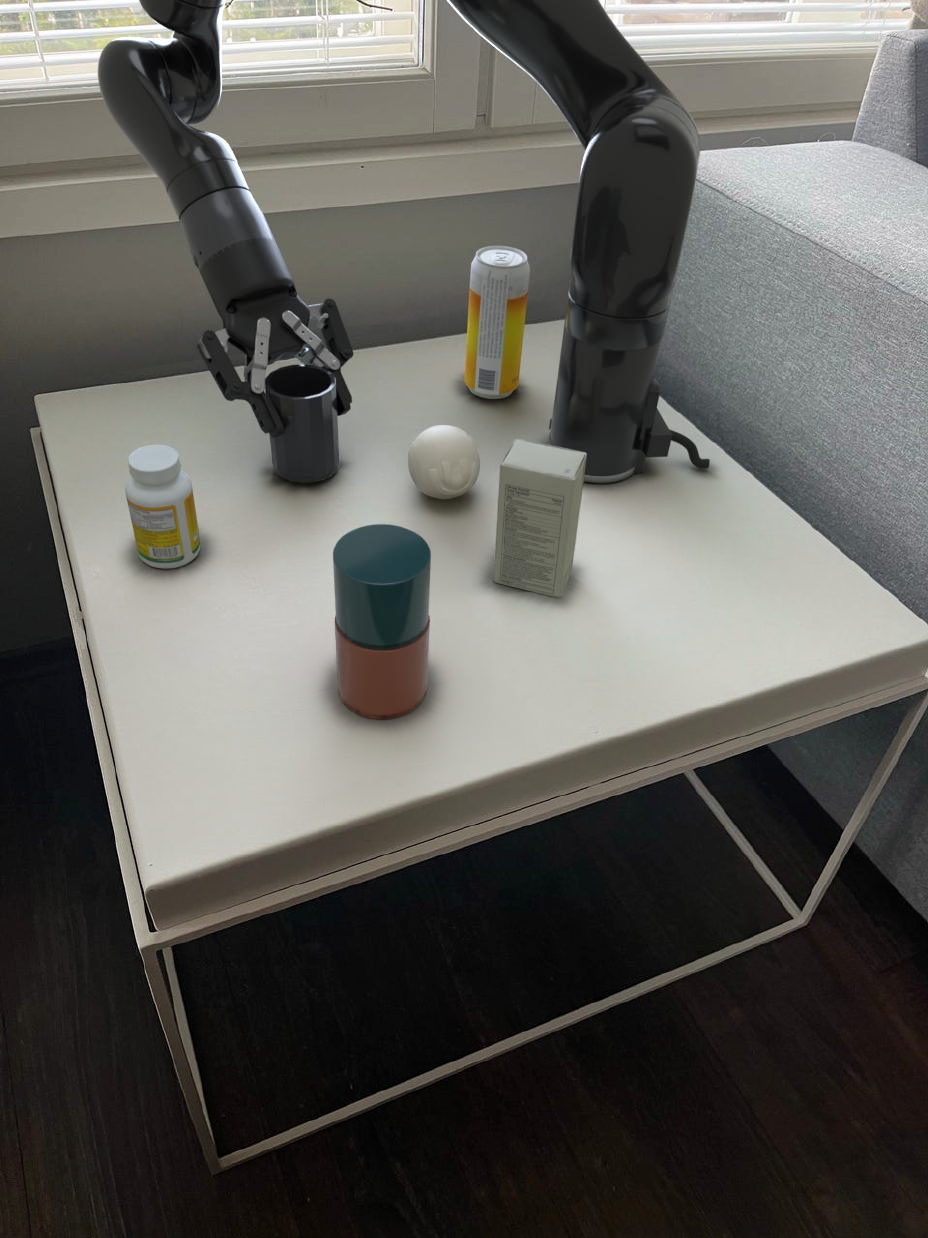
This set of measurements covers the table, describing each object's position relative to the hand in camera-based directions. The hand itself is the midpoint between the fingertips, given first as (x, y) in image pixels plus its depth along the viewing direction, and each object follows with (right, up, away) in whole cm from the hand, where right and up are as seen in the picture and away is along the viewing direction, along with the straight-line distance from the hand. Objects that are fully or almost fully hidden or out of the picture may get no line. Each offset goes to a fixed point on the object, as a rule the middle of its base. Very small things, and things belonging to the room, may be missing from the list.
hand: (312, 422), depth 90 cm
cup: (-1, -3, +5) cm, 6 cm away
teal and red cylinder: (+8, -23, -16) cm, 30 cm away
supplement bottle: (-12, -13, -5) cm, 18 cm away
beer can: (+17, +8, +19) cm, 27 cm away
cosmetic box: (+20, -15, -5) cm, 25 cm away
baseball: (+12, -6, +3) cm, 14 cm away
